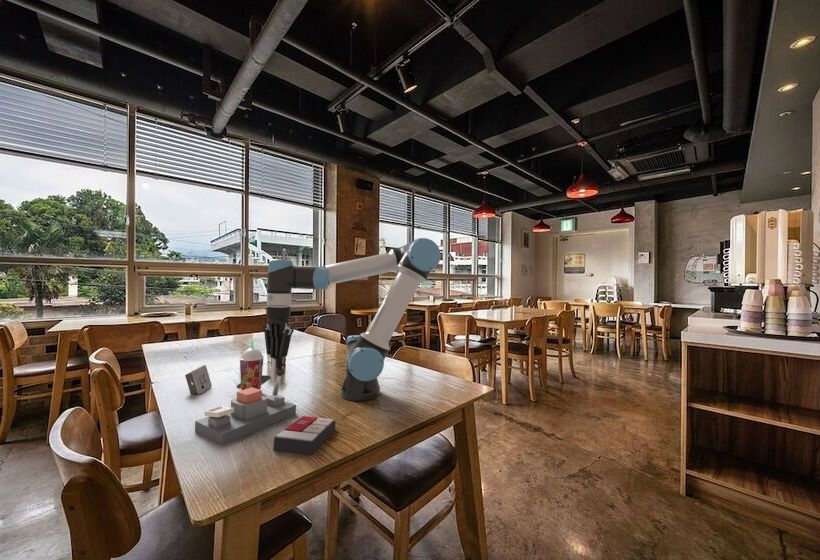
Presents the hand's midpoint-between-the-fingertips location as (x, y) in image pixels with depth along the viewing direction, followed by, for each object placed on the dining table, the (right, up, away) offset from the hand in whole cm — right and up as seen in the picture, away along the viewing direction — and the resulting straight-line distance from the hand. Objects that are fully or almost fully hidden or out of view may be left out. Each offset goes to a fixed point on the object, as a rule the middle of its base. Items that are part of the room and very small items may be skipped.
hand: (275, 377), depth 108 cm
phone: (-22, -12, +30) cm, 39 cm away
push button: (-5, -6, -7) cm, 11 cm away
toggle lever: (-1, -6, 0) cm, 6 cm away
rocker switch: (-10, -6, -15) cm, 19 cm away
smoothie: (-17, -12, +18) cm, 27 cm away
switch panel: (-5, -12, -7) cm, 15 cm away
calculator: (+16, -13, -17) cm, 26 cm away
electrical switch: (-38, -11, +18) cm, 43 cm away
